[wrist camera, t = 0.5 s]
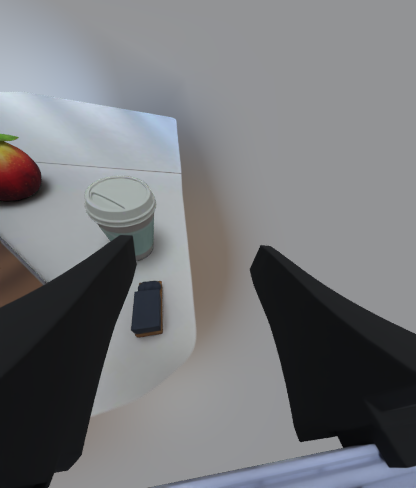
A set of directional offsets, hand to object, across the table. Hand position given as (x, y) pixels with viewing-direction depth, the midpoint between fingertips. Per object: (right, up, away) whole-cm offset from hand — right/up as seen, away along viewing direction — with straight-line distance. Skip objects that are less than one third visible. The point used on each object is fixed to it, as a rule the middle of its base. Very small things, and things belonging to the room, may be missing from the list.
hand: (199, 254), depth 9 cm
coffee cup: (-13, 0, +20) cm, 24 cm away
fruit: (-38, +11, +23) cm, 46 cm away
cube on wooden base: (-8, -9, +14) cm, 19 cm away
